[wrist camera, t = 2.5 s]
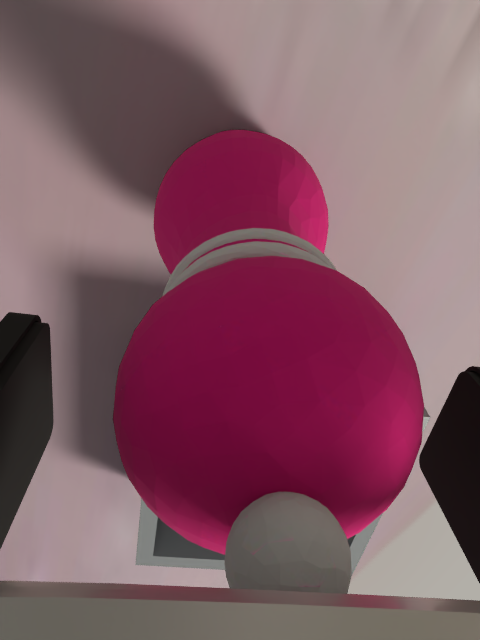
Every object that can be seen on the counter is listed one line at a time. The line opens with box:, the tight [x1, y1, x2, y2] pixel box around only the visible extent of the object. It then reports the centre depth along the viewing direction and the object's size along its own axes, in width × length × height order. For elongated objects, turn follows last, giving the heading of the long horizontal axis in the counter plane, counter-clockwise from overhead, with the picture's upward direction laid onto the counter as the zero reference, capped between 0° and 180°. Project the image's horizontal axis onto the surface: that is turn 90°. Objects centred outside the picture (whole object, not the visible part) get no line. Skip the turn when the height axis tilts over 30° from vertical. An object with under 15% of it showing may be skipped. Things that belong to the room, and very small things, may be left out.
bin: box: [136, 408, 430, 576], centre depth 28 cm, size 14×14×6 cm
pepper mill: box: [113, 130, 424, 594], centre depth 14 cm, size 7×7×20 cm
